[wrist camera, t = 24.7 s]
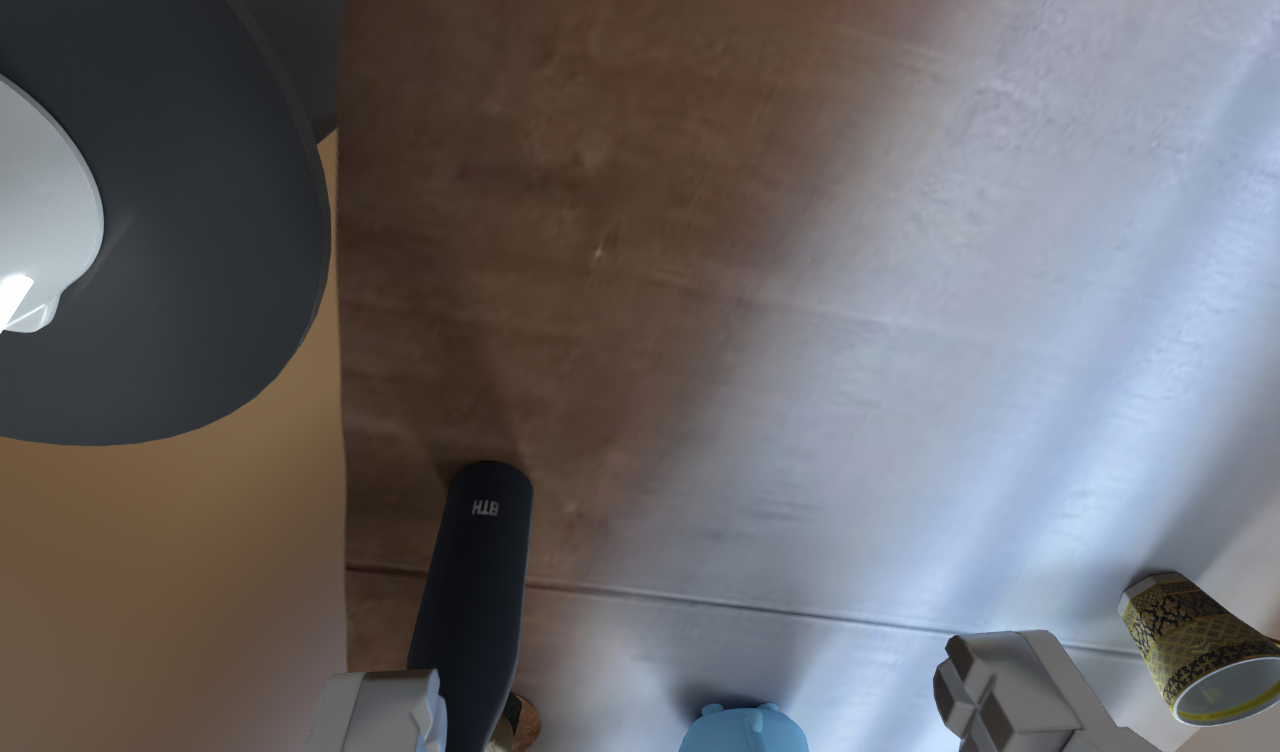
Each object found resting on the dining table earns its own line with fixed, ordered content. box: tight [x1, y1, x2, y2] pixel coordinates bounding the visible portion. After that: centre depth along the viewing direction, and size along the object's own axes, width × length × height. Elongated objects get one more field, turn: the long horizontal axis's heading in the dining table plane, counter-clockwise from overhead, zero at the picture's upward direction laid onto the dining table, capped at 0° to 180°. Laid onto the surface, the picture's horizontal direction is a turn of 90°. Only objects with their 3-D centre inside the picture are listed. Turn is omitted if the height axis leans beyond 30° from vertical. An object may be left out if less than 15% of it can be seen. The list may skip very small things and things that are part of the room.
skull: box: [484, 692, 541, 752], centre depth 68 cm, size 12×10×10 cm
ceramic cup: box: [1117, 572, 1280, 727], centre depth 61 cm, size 13×10×10 cm
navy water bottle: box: [407, 462, 534, 752], centre depth 40 cm, size 6×6×30 cm
